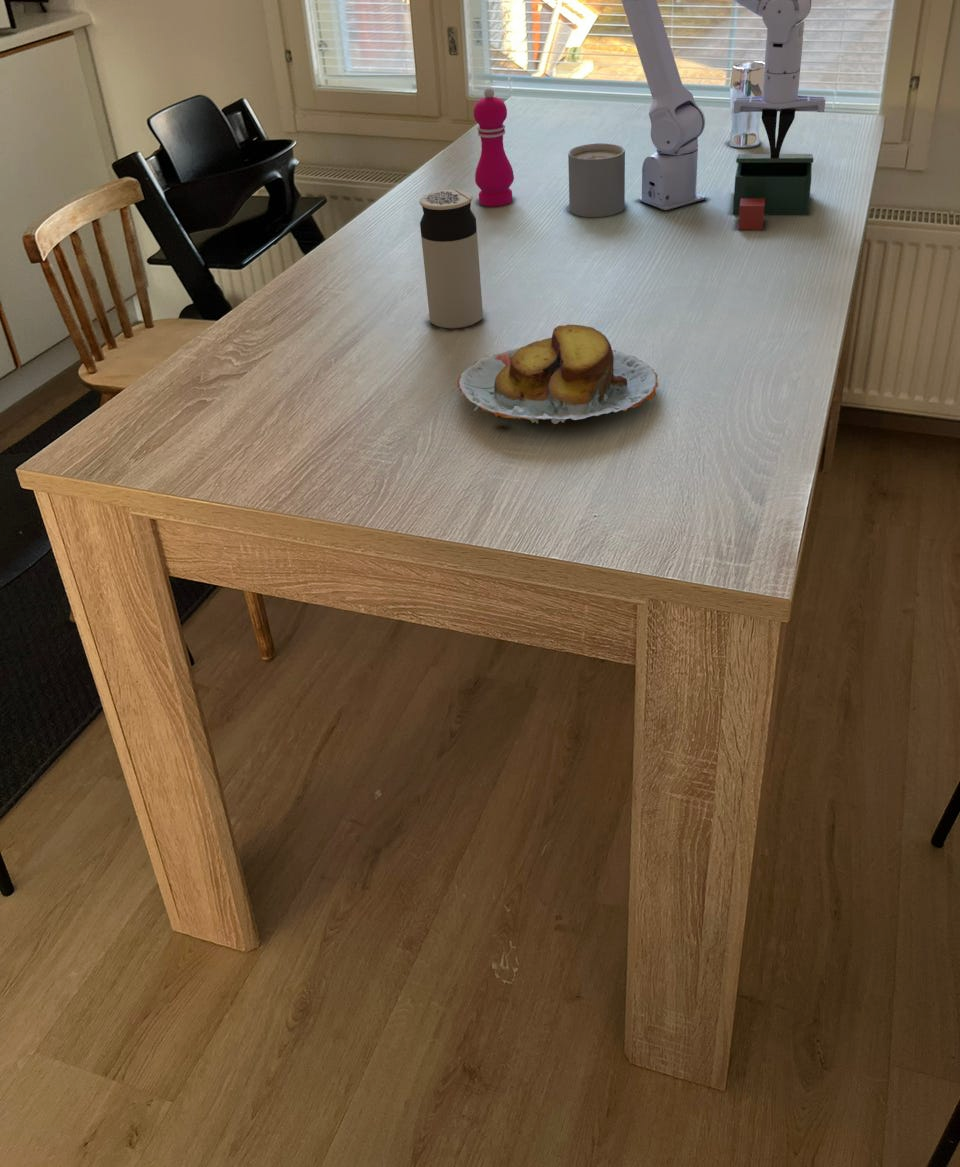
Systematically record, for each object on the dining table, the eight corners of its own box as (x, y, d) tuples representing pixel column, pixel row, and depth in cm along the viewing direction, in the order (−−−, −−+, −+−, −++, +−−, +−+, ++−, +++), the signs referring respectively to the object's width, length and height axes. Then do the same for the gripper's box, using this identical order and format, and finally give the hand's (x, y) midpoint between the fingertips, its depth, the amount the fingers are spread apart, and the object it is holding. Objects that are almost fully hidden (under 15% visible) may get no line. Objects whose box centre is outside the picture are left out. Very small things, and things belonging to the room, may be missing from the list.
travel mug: (437, 333, 164) (424, 210, 153) (424, 313, 170) (411, 194, 159) (489, 324, 165) (480, 201, 154) (475, 304, 171) (465, 185, 161)
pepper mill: (516, 194, 213) (510, 82, 201) (513, 206, 207) (507, 91, 195) (478, 196, 214) (470, 84, 202) (474, 208, 208) (466, 94, 196)
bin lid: (813, 162, 187) (813, 158, 187) (736, 162, 190) (736, 158, 190) (811, 158, 197) (812, 153, 197) (738, 158, 200) (738, 154, 200)
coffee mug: (617, 218, 198) (617, 160, 192) (563, 216, 201) (561, 158, 195) (633, 194, 208) (634, 138, 202) (581, 192, 211) (580, 137, 205)
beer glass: (764, 147, 226) (770, 67, 217) (729, 149, 226) (734, 70, 218) (758, 137, 232) (764, 59, 223) (724, 140, 232) (728, 62, 223)
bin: (807, 214, 193) (811, 176, 189) (732, 214, 196) (735, 176, 192) (807, 194, 201) (811, 158, 197) (736, 194, 204) (738, 158, 200)
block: (762, 229, 189) (764, 205, 186) (738, 229, 190) (739, 205, 187) (763, 221, 192) (765, 198, 189) (739, 221, 193) (740, 198, 190)
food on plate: (422, 395, 148) (417, 349, 144) (564, 338, 160) (563, 294, 156) (549, 464, 131) (547, 414, 127) (697, 394, 143) (699, 346, 139)
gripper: (828, 63, 183) (819, 149, 191) (737, 65, 187) (732, 149, 195) (828, 73, 178) (819, 161, 186) (735, 75, 181) (730, 161, 189)
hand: (774, 156), depth 190 cm, fingers closed, pressing on bin lid
